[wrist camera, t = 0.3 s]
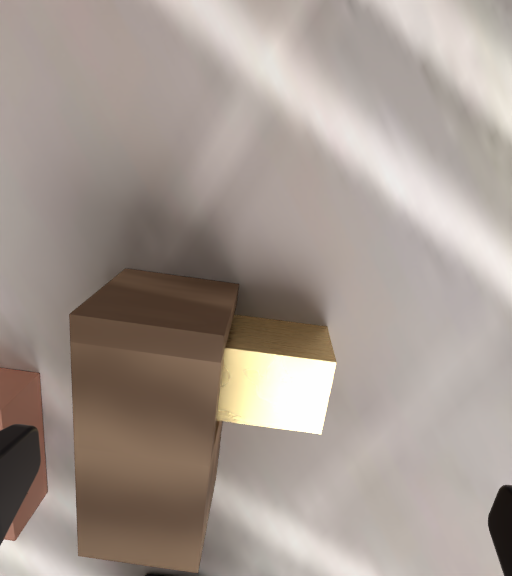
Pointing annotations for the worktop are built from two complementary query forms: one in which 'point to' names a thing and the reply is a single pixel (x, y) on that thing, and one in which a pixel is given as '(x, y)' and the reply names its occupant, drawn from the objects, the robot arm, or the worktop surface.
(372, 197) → the worktop surface
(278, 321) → the brass block
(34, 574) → the worktop surface
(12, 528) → the rust cradle
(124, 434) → the walnut beam
